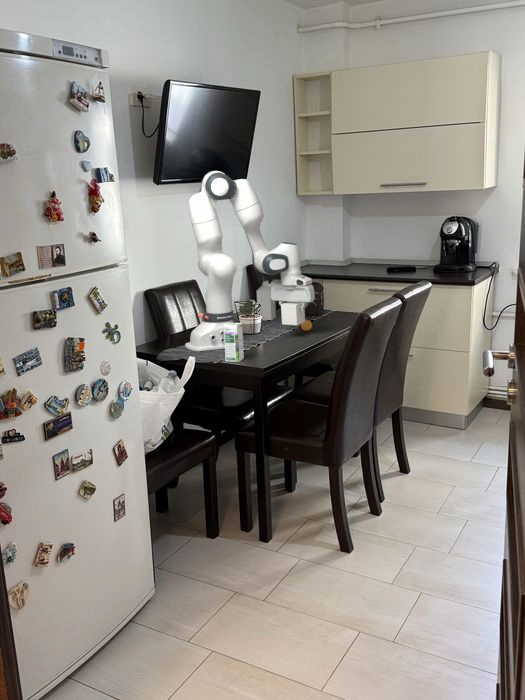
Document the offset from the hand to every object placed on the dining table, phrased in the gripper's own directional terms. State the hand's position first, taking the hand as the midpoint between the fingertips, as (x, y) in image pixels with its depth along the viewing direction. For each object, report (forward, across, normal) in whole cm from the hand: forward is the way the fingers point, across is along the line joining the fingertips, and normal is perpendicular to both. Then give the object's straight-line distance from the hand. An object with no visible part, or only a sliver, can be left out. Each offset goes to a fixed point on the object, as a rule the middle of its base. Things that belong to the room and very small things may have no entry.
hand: (293, 311), depth 295 cm
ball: (+9, 0, +13) cm, 16 cm away
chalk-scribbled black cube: (+12, -17, +46) cm, 51 cm away
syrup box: (+11, -3, -43) cm, 44 cm away
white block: (+5, 0, 0) cm, 5 cm away
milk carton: (+12, -31, +29) cm, 44 cm away
